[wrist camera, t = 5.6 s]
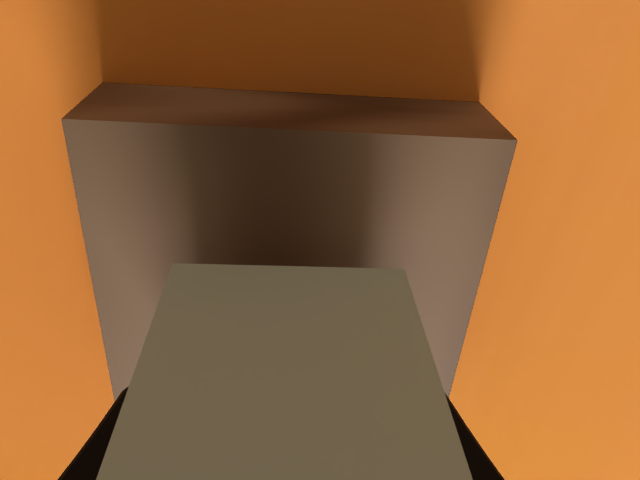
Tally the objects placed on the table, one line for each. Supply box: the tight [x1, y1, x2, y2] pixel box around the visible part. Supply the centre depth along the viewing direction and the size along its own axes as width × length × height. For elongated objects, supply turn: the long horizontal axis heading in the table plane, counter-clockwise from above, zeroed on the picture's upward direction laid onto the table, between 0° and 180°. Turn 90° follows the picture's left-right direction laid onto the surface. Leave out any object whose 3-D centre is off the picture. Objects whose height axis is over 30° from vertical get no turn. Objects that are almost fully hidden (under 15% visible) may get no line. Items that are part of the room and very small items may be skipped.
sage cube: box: [96, 263, 473, 480], centre depth 9 cm, size 4×4×6 cm
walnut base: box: [62, 83, 517, 401], centre depth 14 cm, size 9×9×3 cm
